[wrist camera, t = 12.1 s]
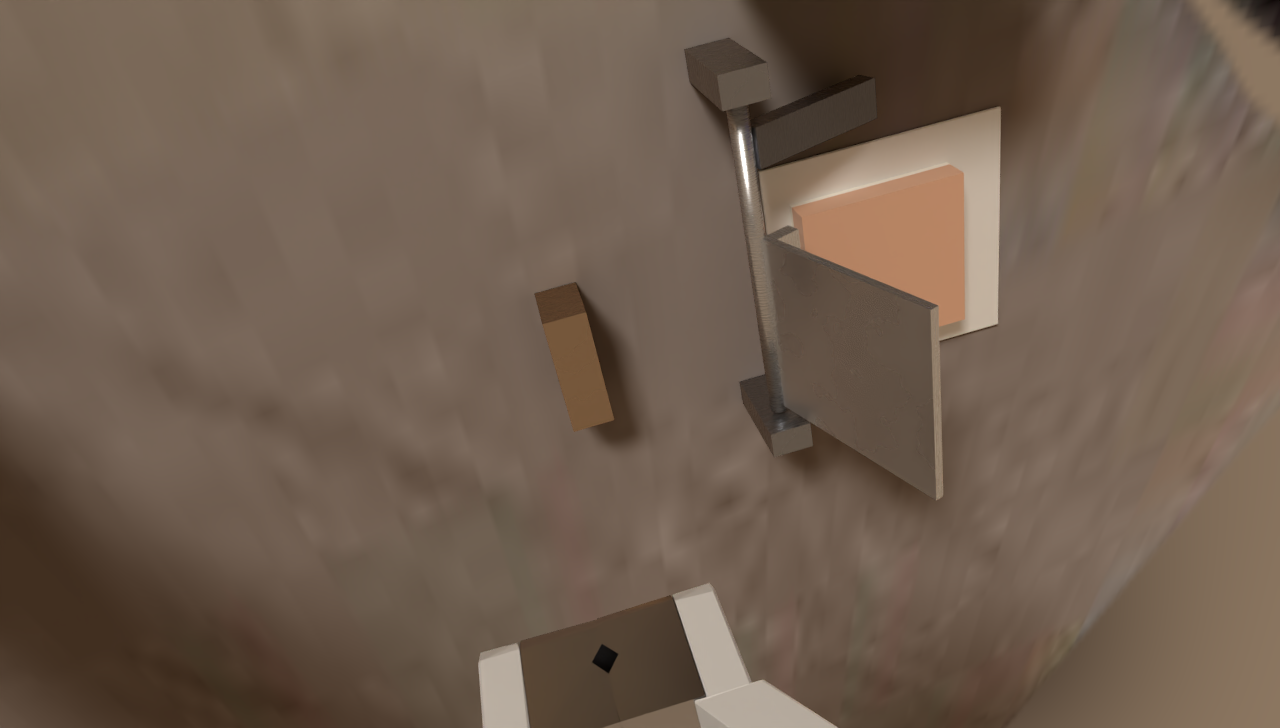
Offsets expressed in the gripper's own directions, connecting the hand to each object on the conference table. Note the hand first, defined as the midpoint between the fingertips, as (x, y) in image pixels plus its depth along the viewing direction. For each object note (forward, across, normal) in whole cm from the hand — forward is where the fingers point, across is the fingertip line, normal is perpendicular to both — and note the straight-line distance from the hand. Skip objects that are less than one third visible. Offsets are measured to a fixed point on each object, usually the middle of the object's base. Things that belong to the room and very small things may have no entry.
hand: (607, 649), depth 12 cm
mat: (+31, -18, +13) cm, 38 cm away
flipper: (+23, -11, +10) cm, 27 cm away
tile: (+29, -17, +13) cm, 36 cm away
